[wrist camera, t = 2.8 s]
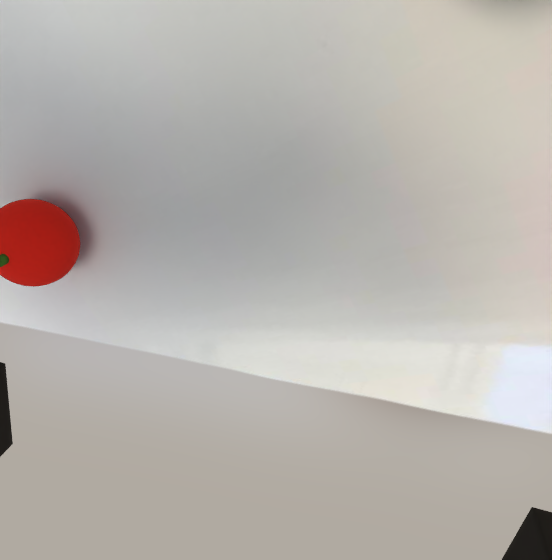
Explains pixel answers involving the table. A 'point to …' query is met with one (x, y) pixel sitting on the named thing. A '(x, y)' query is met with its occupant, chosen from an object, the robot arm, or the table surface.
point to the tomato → (36, 242)
